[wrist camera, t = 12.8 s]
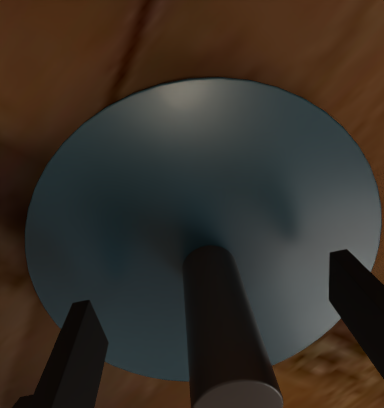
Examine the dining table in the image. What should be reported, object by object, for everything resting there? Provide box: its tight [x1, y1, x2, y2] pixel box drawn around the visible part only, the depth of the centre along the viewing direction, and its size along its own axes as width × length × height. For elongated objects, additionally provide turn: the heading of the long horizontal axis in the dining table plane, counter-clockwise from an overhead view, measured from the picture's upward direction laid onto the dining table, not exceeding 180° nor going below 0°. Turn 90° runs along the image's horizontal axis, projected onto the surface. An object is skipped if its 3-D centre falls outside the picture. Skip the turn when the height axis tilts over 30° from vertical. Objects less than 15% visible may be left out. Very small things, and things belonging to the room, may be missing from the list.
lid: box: [25, 77, 382, 408], centre depth 12 cm, size 18×18×8 cm
